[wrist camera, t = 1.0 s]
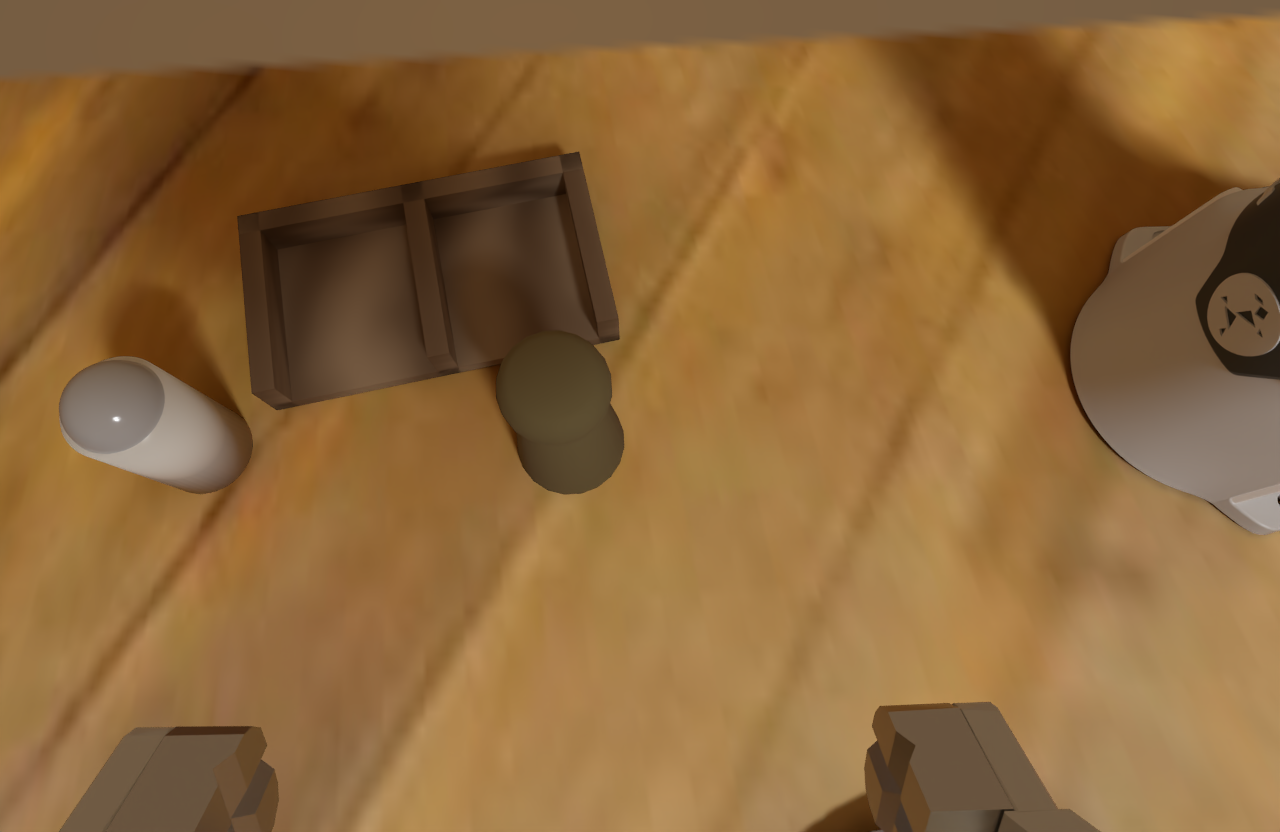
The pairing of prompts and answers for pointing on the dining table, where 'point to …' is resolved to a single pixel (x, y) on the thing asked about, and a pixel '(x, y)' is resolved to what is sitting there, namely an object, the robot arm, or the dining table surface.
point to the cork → (561, 411)
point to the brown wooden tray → (420, 279)
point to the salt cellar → (153, 426)
